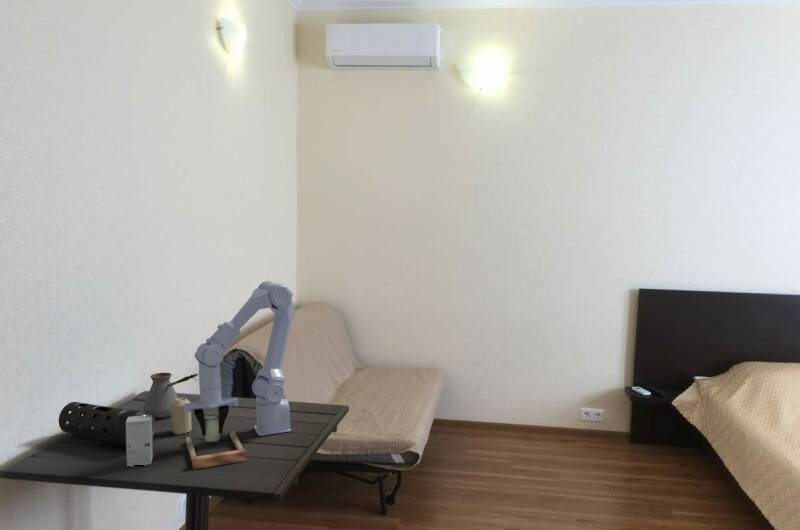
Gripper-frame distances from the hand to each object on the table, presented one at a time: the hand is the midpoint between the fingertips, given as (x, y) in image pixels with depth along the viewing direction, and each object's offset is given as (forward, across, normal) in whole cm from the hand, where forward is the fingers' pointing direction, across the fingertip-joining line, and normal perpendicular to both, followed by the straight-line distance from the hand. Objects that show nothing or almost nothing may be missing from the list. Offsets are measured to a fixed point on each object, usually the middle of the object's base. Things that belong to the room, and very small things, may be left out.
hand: (212, 433), depth 185 cm
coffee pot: (+3, -8, +29) cm, 31 cm away
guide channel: (+3, 0, -5) cm, 6 cm away
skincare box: (+3, -19, -6) cm, 20 cm away
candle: (+3, -7, +14) cm, 16 cm away
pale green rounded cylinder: (+2, 0, 0) cm, 2 cm away
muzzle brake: (+3, -27, +14) cm, 31 cm away
